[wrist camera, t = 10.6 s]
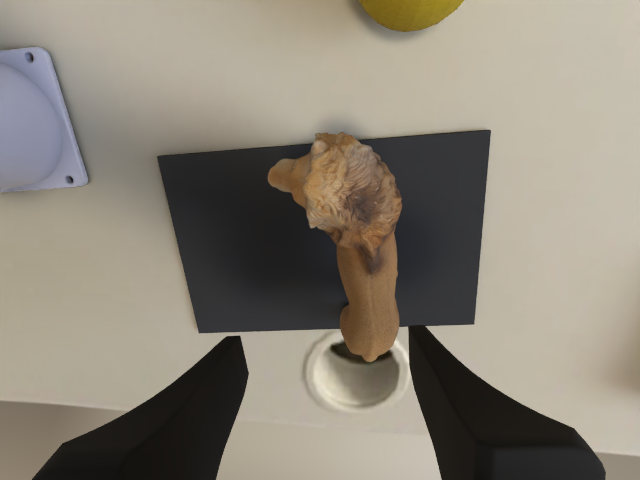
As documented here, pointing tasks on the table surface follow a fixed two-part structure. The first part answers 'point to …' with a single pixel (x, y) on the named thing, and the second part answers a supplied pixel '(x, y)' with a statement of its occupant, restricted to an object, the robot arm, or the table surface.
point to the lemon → (409, 12)
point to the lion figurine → (352, 231)
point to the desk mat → (325, 236)
